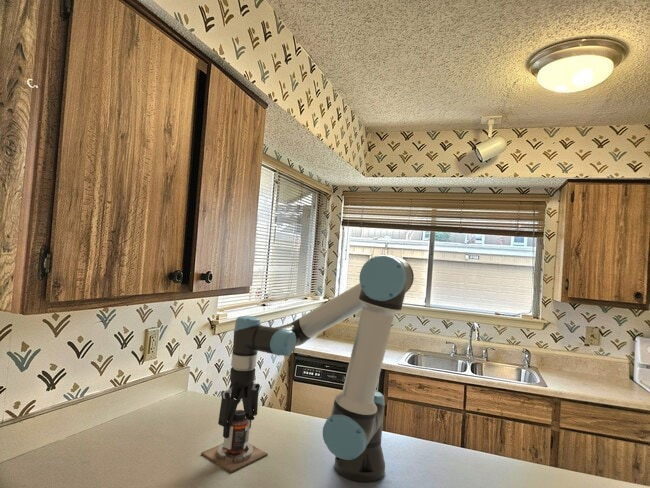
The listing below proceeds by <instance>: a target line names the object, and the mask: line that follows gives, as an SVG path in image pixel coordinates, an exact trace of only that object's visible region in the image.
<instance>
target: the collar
mask: <svg viewBox="0 0 650 488" xmlns="http://www.w3.org/2000/svg"><path fill="white" fill-rule="evenodd" d="M218 445H219V447H218V448H217V456H218V458H220V459H221V460H223V461H226V462H242V461H245V460H247V459H249V458H251V456H252V454H253V447H252V445H253V444H251V443H249V442H246V449H247V453H244V454H242V455H237V456H232V455H227V454H225V453H224V452H223V450H224V449H226V448H225V447H223V445H224V442H223V443H221V444H218Z"/></svg>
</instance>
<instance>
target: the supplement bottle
mask: <svg viewBox="0 0 650 488" xmlns="http://www.w3.org/2000/svg"><path fill="white" fill-rule="evenodd" d="M245 413H246V412H245V411H244V409H236V412H235V415H234V418H233V421H232V425H231V426H233V435H232V446H231V449H230V450H229V449H227V448H226V450H227V452H229V453H232V454H239V453H242V452H243V451H244V450H245V449H246V439H247V427H248V420H247V419H246V417H245Z"/></svg>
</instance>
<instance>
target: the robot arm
mask: <svg viewBox="0 0 650 488" xmlns="http://www.w3.org/2000/svg"><path fill="white" fill-rule="evenodd" d="M414 275H415V274H414V271H413V267H412V266H411V265H410V263H409V262H408V261H406V259H404V258H402V257H399V256H395V255H391V254H386V253H385V254H378V255H375V256H372V257H371V258H369V259H368V260H367V261H365V263H364V264H363V265H362V267H361V269H360V272H359V280H358V281H359V283H357V284H356V285H354V286H352V287H351V288H349V289H347V290H345V291H344V292H342V293H340V294H339V295H337V296H335V297H333V298H332V299H329V300H328V301H327V302H325V303H323V304H321V305H320V306H318V307H316V308H315V309H312V310H311V311H310V312H308V313H306V314H303V315H302V316H301V317H299V318H297V319H295V320H294V321H292V322H290V323H287V324H284V325H280V326H276V327H271V326H265V325H261V320H260V318H259V317H257V316H253V315H242V316H238V317H237V318H236V319H235V323H234V330H233V343H232V344H233V346H232V352H231V361H230V362H231V363H230V365H231V367H230V371H229V381H230V385H229V386H228V389H226V390H222V391H221V392H220V397H221V402H220V407H219V415H218V422H217V424H218V425H219V426H221V427H223V430H222V431H223V433H222V437H223V443H224V445H223V447H225V448H227V449H229V450H230V449H231V446H232V435H233V426H231V425H232V421H233V418H234V415H235V412H236V410H238V409H237V408H238V405H240V402H241V401H242V405H243V406H242V407H243V411H245V412H246V413H245V418H246V419H247V420H248V427H247V439H246V442H247V443H249V437H250V436H249V435H250V430H251V428H252V421H254V420H255V417H256V416H257V415H258V408H259V407H258V406H259V405H258V403H259V390H260V388H261V384H259V383H257V382H254V381H255V379H256V366H257V358H258V357H257V356H258V352H261V353H266V354H271V355H275V356H279V357H280V356H283V357H288V356H291V355H292V354H293V352H294V351H295V348H296V347H298V346H301V345H304V343H307V342H308V341H309V340H311V339H312V338H314V337H315V336H317V335H319V334H321V333H324V331H326V330H327V331H328V329H330V328H333V327H334V326H336V325H337V324H339V323H341V322H342V321H345V320H346V319H348V318H351V317H352V316H354V315H355V314H357V313H359V312H361V313H360V315H359V320H358V324H357V327H356V328H357V329H356V333H355V337H354V342H353V346H352V350H351V354H350V358H349V362H348V367H347V370H346V375H345V380H344V383H343V388H342V390H341V392H338V393H337V394H336V395H335V398H334V400H333V405H332V409H331V413H330V416H329V417H328V418H327V419H326V420H325V422H324V425H323V427H322V440H323V443H324V444H325V446H326V447H327V449H328V451H329V452H331V454H332V455H333V456H334V468H335V470H336V472H337V473H339V474H338V475H340V476H343V477H344V478H345V479H349V480H350V481H354V482H359V483H371V482H376V481H380V480H381V479H382V478H384V476H385V474H386V461H385V457H384V453H383V448H382V447H383V446H382V436H383V426H384V425H383V424H384V423H383V421H384V413H385V405H386V404H385V396H384V395H383V393H381V392H380V391H377V387H378V383H379V379H380V374H381V370H382V366H383V362H384V357H385V353H386V350H387V345H388V340H389V337H390V333H391V330H392V325H393V320H394V317H395V315H396V314H398V313H400V312H401V311H402V307H403V304H404V300H405V296H406V293H407V292H409V291H410V289H411V287H412V286H413V283H414V280H415V277H414Z"/></svg>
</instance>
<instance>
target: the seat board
mask: <svg viewBox="0 0 650 488" xmlns="http://www.w3.org/2000/svg"><path fill="white" fill-rule="evenodd" d="M219 445H220V444H218V445H216V446H214V447H211V448H209V449H207V450H204V451H201V452H200V454H201V456H203V457H204V458H206V459H208V460H210V461H211V462H212V463H214V464H216V465H218V466H219V467H220V468H223V469H224V470H225V471H227V472H229V473H230V474H233V473H235V472H238V471H239V470H241V469H243V468H245V467H247V466H249V465H251V464H253V463H255V462H257V461H260V460H261V459H263V458H265V457H268V452H266V451H263V450H262V449H261V448H258V447H257V446H254V445H253V444H251V445H252V447H253V454H252V456H251V458H249V459H247V460H245V461H242V462H226V461H223V460H221V459H220V458H218V456H217V448H218V447H219ZM223 452H224V453H225V454H227V455H232V456H237V455H242V454H244V453H247V449H245V450H244V451H243V452H242V453H239V454H232V453H229V452H227V450H226V449H224V450H223Z"/></svg>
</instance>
